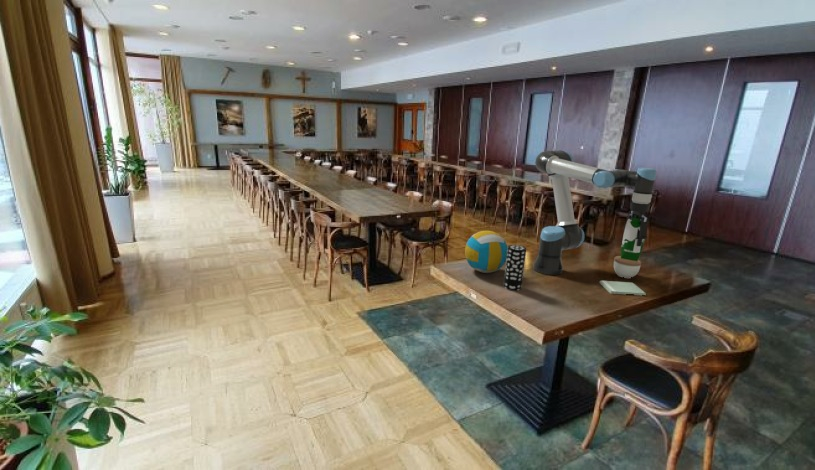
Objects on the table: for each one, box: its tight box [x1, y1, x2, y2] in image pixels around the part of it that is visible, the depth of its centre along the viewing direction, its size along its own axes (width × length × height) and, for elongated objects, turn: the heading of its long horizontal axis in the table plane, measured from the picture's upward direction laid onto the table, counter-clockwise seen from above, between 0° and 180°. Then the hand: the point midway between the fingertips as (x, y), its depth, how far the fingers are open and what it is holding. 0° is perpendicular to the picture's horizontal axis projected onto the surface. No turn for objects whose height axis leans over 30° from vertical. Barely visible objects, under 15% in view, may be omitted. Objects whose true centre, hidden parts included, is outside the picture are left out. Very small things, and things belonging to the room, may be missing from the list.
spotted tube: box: [503, 244, 527, 292], centre depth 189 cm, size 8×8×20 cm
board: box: [599, 280, 647, 296], centre depth 195 cm, size 16×13×1 cm
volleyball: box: [464, 230, 508, 274], centre depth 207 cm, size 22×22×22 cm
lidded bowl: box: [613, 255, 642, 279], centre depth 211 cm, size 13×13×11 cm
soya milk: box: [620, 217, 645, 261], centre depth 187 cm, size 9×9×20 cm
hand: (631, 249), depth 189 cm, fingers closed on soya milk, 9 cm apart
